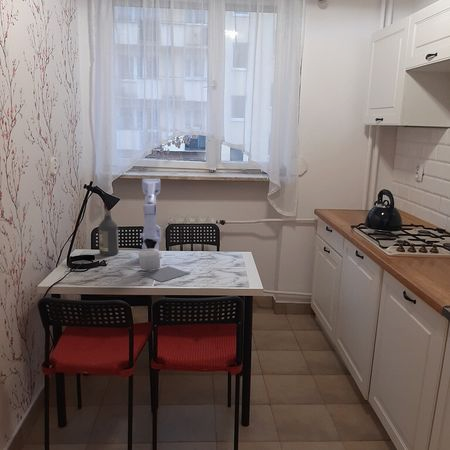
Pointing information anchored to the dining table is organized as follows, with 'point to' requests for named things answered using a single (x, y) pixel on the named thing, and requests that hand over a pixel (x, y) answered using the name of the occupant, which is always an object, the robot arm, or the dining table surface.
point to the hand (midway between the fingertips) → (150, 253)
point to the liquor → (108, 235)
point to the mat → (165, 274)
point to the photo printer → (149, 259)
